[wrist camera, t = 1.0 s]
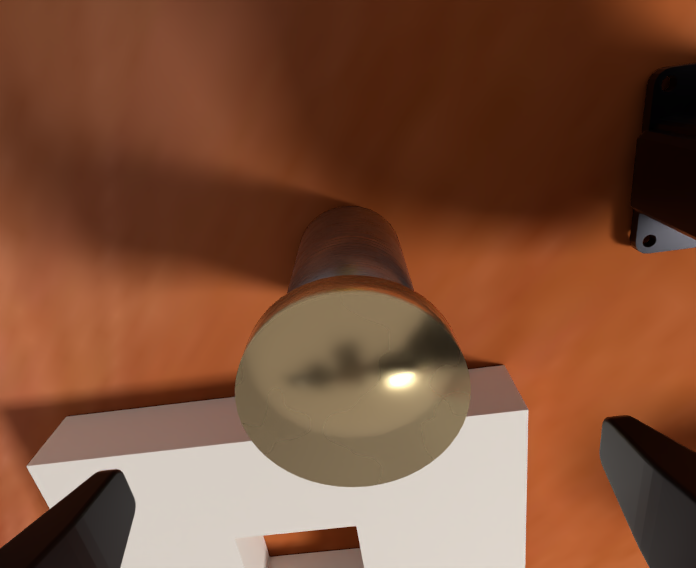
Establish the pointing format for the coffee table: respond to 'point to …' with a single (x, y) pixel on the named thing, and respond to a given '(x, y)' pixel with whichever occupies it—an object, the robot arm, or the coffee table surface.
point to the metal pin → (352, 362)
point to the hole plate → (300, 489)
